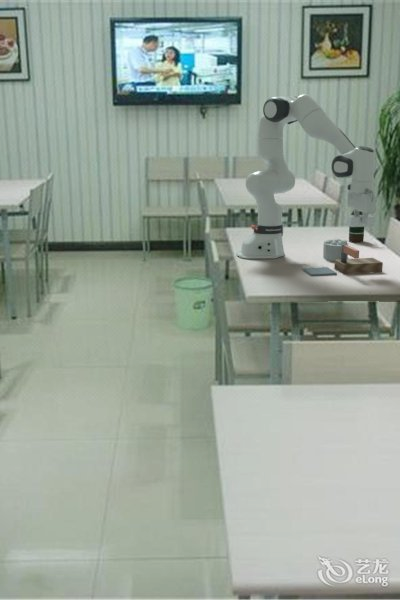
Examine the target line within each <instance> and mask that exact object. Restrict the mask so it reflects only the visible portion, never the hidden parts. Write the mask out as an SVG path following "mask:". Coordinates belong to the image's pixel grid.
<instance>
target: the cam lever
mask: <svg viewBox="0 0 400 600" xmlns="http://www.w3.org/2000/svg"><path fill="white" fill-rule="evenodd" d="M347 254H348V256H350V257H351V258H352V259H357V258H360V250H359V249H356V248H355V247H353V246H350V245H349V244H348V245H347V244H342V246H341V262H347Z"/></svg>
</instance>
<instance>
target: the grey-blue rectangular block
mask: <svg viewBox="0 0 400 600" xmlns="http://www.w3.org/2000/svg"><path fill="white" fill-rule="evenodd" d="M362 216H363V215H351V214H349V215H348V214H347V216H346V226H348V227H349V226H350V227H364V228H365V227H369V228H370V227H375V222H376V220H375V219H376V216H374V215H372V214H369V215H368V217H367V222H366V223H362V222H361V218H362Z"/></svg>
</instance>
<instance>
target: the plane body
mask: <svg viewBox="0 0 400 600" xmlns="http://www.w3.org/2000/svg"><path fill="white" fill-rule="evenodd" d="M383 263H384V262H383V261H381V260H379V259H376V258H374V257H359V258H348V259H347V262H341V259H338V260H335V262H334V267H333V269H334V271H337V272H339V273H340V274H343V275H352V274H353V273H356V274H370V272H374V273H382V272H383V267H384V266H383V265H384V264H383ZM353 275H354V274H353Z"/></svg>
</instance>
